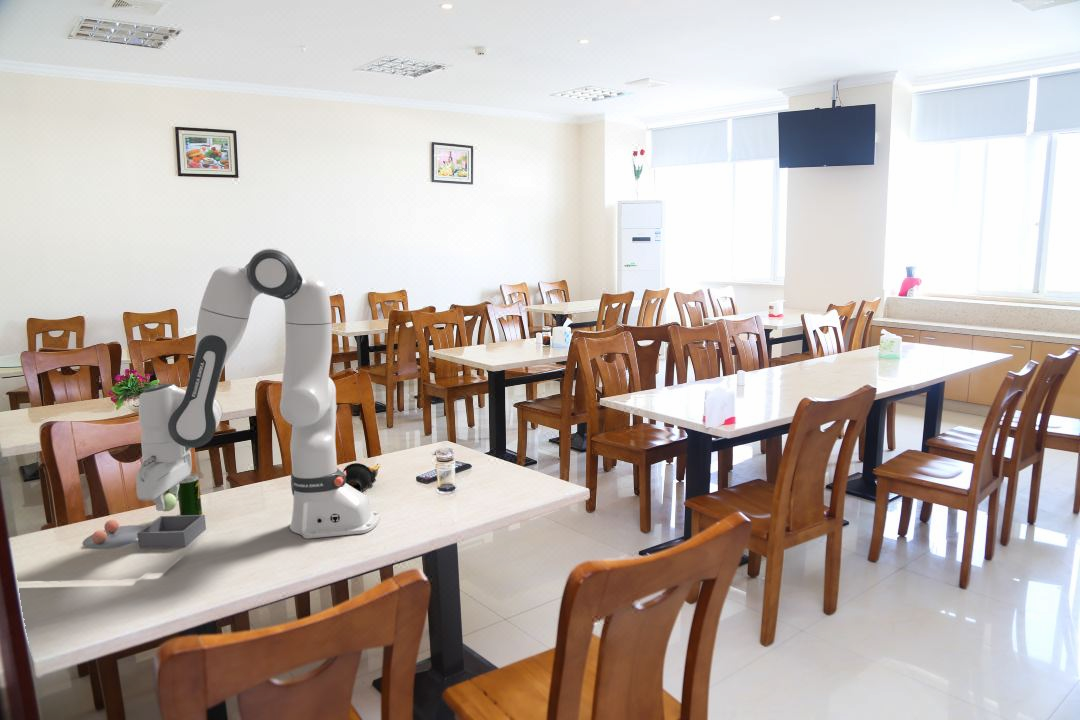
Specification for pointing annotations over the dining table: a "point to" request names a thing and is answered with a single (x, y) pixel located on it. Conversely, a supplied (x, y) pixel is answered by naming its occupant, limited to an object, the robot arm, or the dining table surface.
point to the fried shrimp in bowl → (360, 475)
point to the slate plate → (116, 538)
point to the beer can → (189, 496)
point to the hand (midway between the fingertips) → (167, 505)
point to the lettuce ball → (169, 501)
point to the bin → (171, 531)
